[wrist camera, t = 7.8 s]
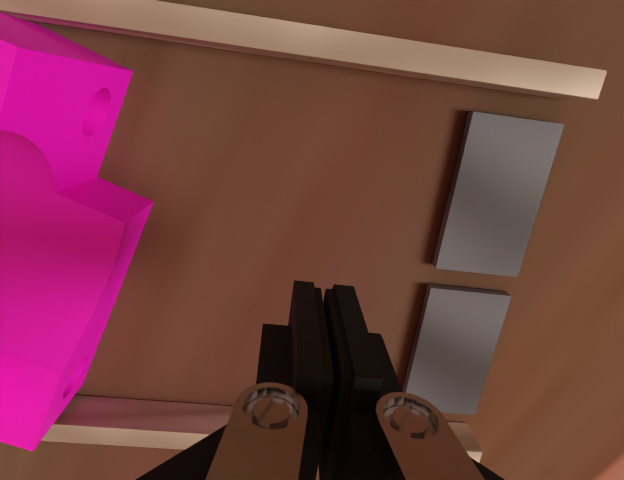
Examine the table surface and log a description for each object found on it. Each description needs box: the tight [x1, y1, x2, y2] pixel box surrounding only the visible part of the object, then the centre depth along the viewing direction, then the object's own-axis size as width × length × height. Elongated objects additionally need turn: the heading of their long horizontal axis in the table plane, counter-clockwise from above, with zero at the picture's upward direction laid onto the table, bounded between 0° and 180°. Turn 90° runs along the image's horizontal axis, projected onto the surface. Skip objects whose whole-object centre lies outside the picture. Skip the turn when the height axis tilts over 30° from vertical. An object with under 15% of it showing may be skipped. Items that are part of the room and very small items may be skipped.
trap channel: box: [0, 0, 607, 463], centre depth 17 cm, size 19×32×4 cm, turn 82°
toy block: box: [0, 12, 153, 451], centre depth 15 cm, size 15×6×8 cm, turn 154°
